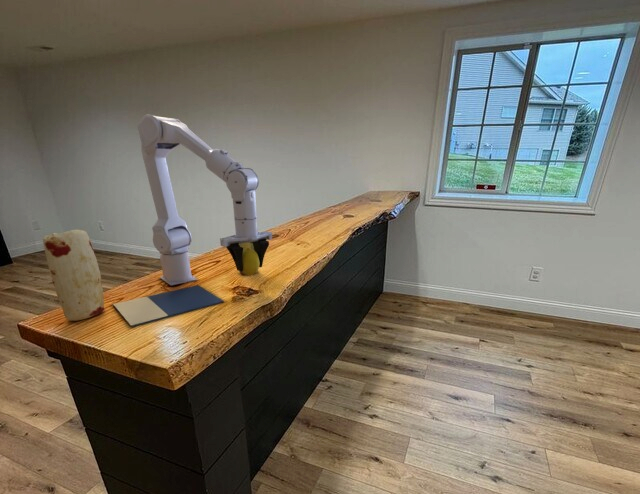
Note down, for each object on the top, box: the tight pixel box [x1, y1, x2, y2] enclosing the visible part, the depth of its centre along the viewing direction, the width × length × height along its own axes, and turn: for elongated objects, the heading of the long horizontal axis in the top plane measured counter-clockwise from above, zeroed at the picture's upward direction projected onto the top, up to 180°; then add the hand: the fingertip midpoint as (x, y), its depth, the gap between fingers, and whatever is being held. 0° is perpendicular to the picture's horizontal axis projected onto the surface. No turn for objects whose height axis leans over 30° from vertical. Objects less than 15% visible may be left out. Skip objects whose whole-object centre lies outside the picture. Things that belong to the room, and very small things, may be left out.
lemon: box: [242, 248, 260, 277], centre depth 95 cm, size 6×6×8 cm
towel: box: [112, 284, 225, 328], centre depth 88 cm, size 16×22×1 cm
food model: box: [42, 229, 105, 322], centre depth 78 cm, size 10×7×20 cm
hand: (249, 268), depth 95 cm, fingers closed on lemon, 5 cm apart
